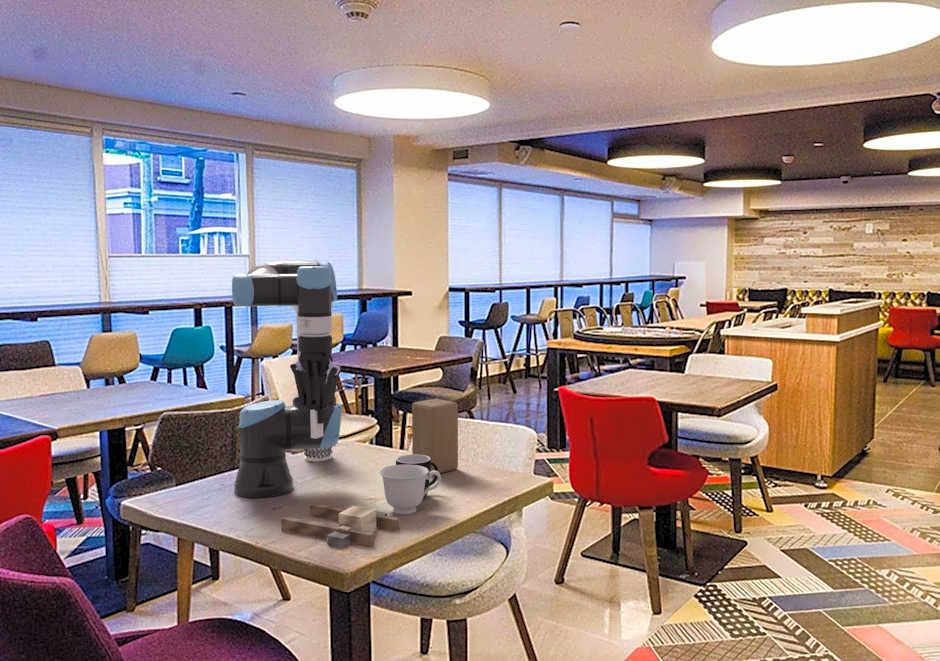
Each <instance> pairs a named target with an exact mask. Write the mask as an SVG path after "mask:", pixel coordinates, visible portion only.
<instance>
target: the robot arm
mask: <svg viewBox="0 0 940 661" xmlns="http://www.w3.org/2000/svg"><path fill="white" fill-rule="evenodd" d="M337 289H338V288H337V282H336V275H335V271H334V267H333V265H332V264H331V263H330V262H329V261H328V260H327V261H325V260H324V261H323V260H317V259H316V260H315V259H314V260H274V261H270V262H265V263H262V264H258V265H256V266H254V267H252V268H251V269H249V270H248V271H247V273H243V274H242V273H240V274H239V273H238V274H235V275H233V276H232V278H231V298H232V303H233V305H234V306H235V307H246V308H250V307H274V306H276V307H277V306H278V307H285V306H286V307H288V306H289V307H291V308H290V309H292V310H293V311H294V312H295V313H296V344H297V345H296V346H297V347H296V348H297V349H296V352H297V361H296V362H295V363H292V364H290V366H289V367H290V370H291V372H292V373H293V377H294V382H295V386H296V390H297V395H295V396H294V397H293V399H292V405H286V402H284V400H281V399H279V400H275V399H274V400H271V399H270V400H266V401H260V402H256V403H251V404H249V405H247V406H245V407H242V409H241V410H240V412H239V424H238V428H239V442H240V443H239V448H240V451H239V452H240V453H239V454H240V455H239V456H240V464H239V467H238V470H237V475H236V476H235V477H236V478H235V480H234V483H233V484H234V486H233V487H234V494H236V495H238V496H240V497H245V498H255V499H256V498H269V497H275V496H280V495H283V494H286V493H289V492H291V491H292V490H293V488H294V480H293V476H292V475H291V471H290V467H289V465H288V463H287V457H286V456H287V455H286V451H287V450H289V451H291V450H304V449H311V448H320V449H322V448H326V447H332V448H333V447H335V446H337V444H338V443H339V439H340V434H341V431H340V430H341V421H342V412H343V410H342V408H343V405H342V403H338V402H337V397H336V392H337V386H338V381H339V380H338V379H339V375H340V373H341V372H342V370H343V368H342V366H341V365H336V364H335V363H334V359H333V357H332V351H333V336H332V335H331V333H333V316H332V314H333V313H332V308H333V302H336V301H337V300H338V290H337Z"/></svg>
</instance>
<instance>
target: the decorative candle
mask: <svg viewBox="0 0 940 661" xmlns="http://www.w3.org/2000/svg"><path fill="white" fill-rule="evenodd" d="M332 448H333V447H326V448H322V449H320V448H311V449H303V450H304V451H303V455H304V460H305V461H308V462H323V461H329V460H330V459H332V458H333V456H332V454H333V450H332Z"/></svg>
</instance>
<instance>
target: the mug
mask: <svg viewBox="0 0 940 661" xmlns="http://www.w3.org/2000/svg"><path fill="white" fill-rule="evenodd" d="M402 464H410V465H419V466H423V467H426V468H427V469H428V470H429V473H430V470H431V465H432V466H433V467H434V469H435V471H438V468H437V466H436V465H435V464H434V463H432V462H431V459H430V457H428V456H425V455H418V454H413V453H412V454H404V455H399V456H398V457H396V459H395V465H402ZM429 473H428V474H427V476H428V477H429ZM433 476H434V477H433V478H432V480H431V479H430V480H428V479H426V480H425V488H424V491H425V490H426V489H427V488H428V487H430V486H432V485H434V484H435V483H436V482H437V480H438V478H437V476H436V475H433ZM428 492H429V491H428ZM428 492H427V493H426V494H425V495H424V497H423V500H424V499H425V498H426V497H427V495H428Z"/></svg>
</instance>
